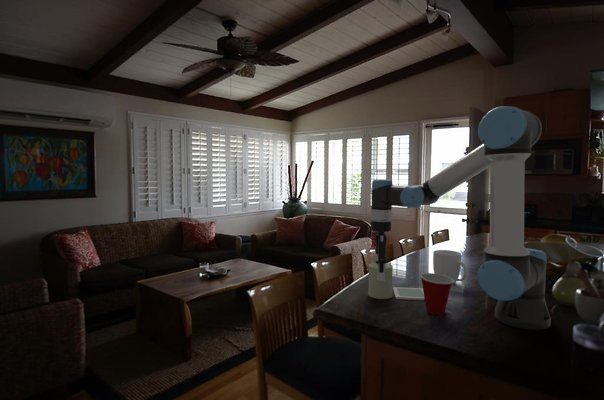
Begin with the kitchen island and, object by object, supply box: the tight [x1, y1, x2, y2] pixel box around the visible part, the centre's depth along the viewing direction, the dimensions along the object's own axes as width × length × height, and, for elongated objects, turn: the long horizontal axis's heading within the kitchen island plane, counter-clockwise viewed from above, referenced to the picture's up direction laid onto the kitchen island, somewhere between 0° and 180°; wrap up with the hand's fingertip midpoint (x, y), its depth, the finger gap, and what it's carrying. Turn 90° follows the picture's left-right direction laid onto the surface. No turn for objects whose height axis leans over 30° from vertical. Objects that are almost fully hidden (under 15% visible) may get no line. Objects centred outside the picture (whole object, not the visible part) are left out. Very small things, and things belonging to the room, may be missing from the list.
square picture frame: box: [392, 286, 425, 301], centre depth 142 cm, size 12×12×1 cm
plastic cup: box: [420, 272, 454, 316], centre depth 124 cm, size 11×11×12 cm
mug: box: [432, 249, 469, 285], centre depth 155 cm, size 15×11×13 cm
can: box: [367, 262, 394, 300], centre depth 141 cm, size 9×9×12 cm
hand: (379, 275), depth 141 cm, fingers open, 13 cm apart
